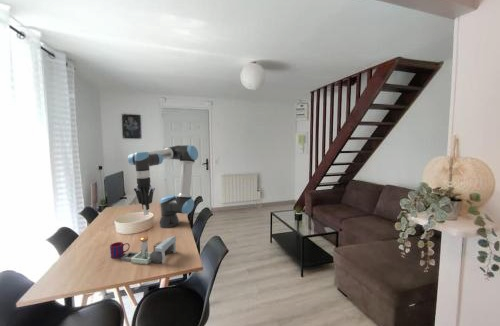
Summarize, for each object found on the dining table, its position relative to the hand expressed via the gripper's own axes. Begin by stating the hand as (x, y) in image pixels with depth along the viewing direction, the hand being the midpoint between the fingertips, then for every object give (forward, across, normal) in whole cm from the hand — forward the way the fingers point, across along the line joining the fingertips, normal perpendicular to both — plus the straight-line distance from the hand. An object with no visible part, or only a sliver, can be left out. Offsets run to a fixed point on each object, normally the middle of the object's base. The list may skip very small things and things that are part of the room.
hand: (146, 214), depth 142 cm
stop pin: (+21, +7, -14) cm, 26 cm away
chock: (+22, +9, -3) cm, 24 cm away
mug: (+22, -12, -10) cm, 27 cm away
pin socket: (+22, -3, -12) cm, 25 cm away
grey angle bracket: (+22, +16, -9) cm, 28 cm away
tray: (+22, +6, -14) cm, 26 cm away
